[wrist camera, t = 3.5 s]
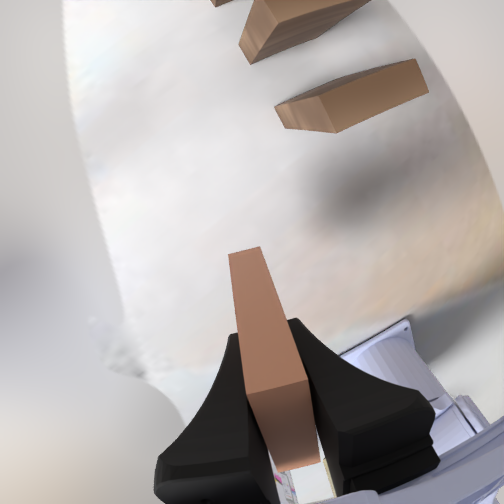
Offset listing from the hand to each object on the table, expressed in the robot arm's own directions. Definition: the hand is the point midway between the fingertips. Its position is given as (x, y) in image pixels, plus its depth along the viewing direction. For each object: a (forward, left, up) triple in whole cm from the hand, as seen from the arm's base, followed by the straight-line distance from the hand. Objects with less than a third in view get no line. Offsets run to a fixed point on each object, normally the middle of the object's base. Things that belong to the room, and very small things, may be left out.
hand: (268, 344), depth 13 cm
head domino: (0, 0, -4) cm, 4 cm away
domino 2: (+7, -9, -10) cm, 15 cm away
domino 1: (+12, -9, -10) cm, 18 cm away
